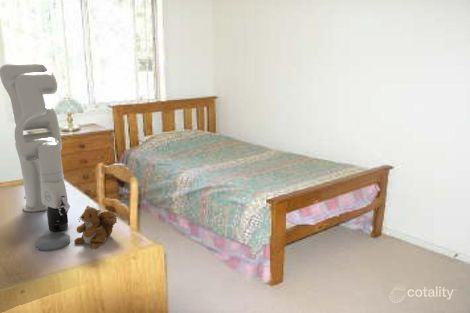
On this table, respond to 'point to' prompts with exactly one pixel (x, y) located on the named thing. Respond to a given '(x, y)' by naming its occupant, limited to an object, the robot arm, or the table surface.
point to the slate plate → (52, 241)
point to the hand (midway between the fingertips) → (57, 221)
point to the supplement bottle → (55, 220)
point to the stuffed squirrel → (95, 227)
